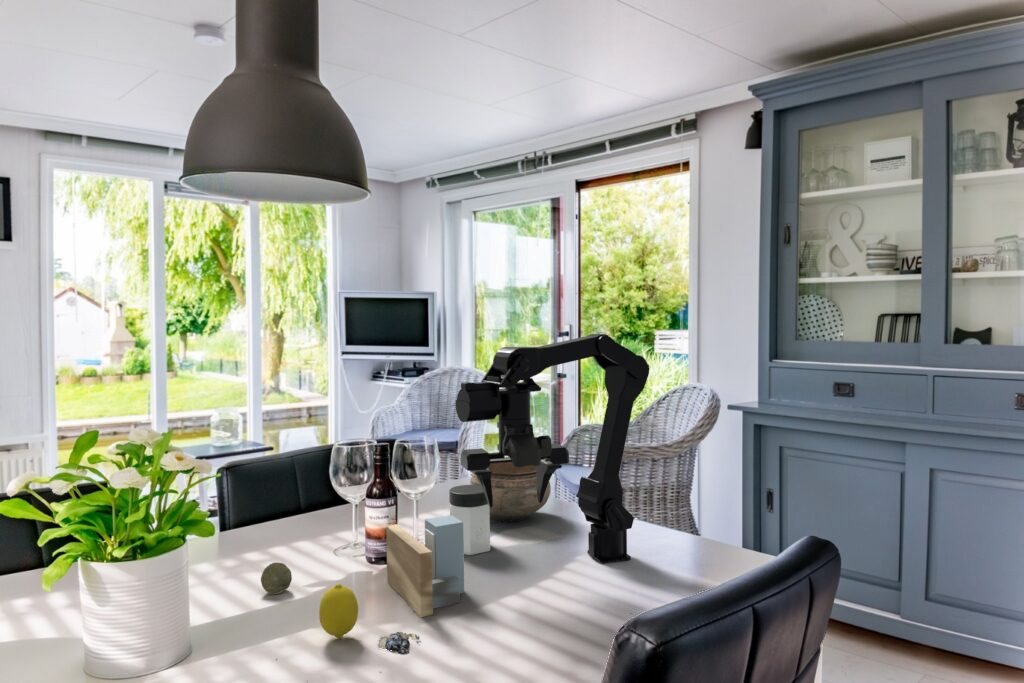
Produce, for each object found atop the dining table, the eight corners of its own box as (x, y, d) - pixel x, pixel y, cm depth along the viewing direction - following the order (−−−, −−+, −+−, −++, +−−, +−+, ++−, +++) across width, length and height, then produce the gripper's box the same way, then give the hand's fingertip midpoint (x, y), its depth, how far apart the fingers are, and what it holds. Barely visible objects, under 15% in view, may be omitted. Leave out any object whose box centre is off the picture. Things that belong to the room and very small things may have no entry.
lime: (295, 591, 123) (295, 562, 123) (269, 599, 119) (268, 569, 119) (283, 584, 126) (282, 556, 126) (257, 592, 123) (256, 563, 122)
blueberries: (412, 633, 107) (411, 620, 107) (436, 653, 100) (436, 640, 100) (369, 644, 103) (368, 631, 103) (391, 667, 97) (390, 653, 97)
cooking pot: (452, 510, 173) (452, 459, 172) (523, 500, 181) (522, 452, 181) (494, 538, 150) (493, 480, 150) (572, 526, 158) (572, 471, 158)
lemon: (323, 631, 107) (322, 578, 107) (360, 629, 107) (359, 576, 107) (316, 648, 101) (315, 592, 101) (356, 646, 102) (354, 590, 102)
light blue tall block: (452, 582, 126) (451, 515, 125) (464, 592, 121) (463, 522, 121) (424, 588, 123) (423, 519, 123) (435, 598, 119) (434, 526, 118)
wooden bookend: (427, 574, 130) (426, 519, 130) (465, 607, 115) (464, 546, 114) (387, 581, 126) (386, 525, 126) (420, 617, 111) (419, 553, 111)
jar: (461, 558, 138) (460, 496, 138) (441, 547, 145) (440, 488, 145) (500, 549, 143) (499, 490, 143) (479, 539, 150) (478, 482, 150)
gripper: (474, 427, 117) (476, 521, 117) (580, 420, 122) (581, 511, 123) (459, 418, 127) (460, 504, 128) (557, 412, 133) (558, 495, 134)
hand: (515, 504), depth 128 cm, fingers open, 9 cm apart
